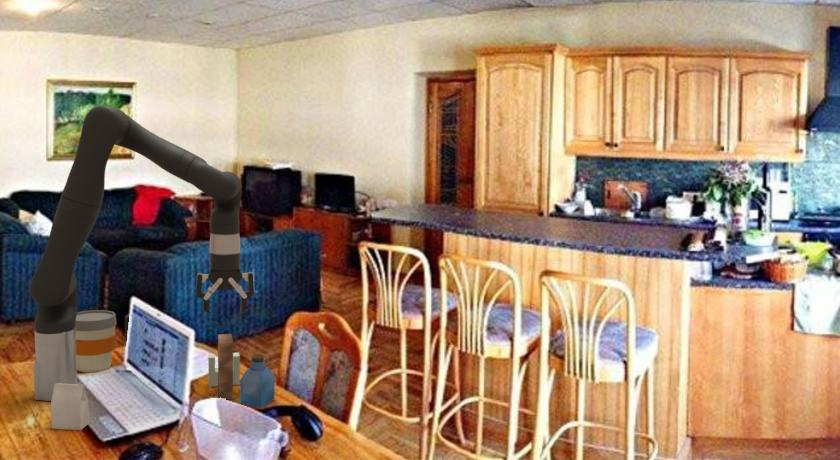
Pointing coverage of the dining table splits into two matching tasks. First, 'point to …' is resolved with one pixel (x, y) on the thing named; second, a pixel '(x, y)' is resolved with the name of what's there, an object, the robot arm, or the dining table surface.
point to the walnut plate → (225, 366)
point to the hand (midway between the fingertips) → (225, 312)
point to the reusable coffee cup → (94, 339)
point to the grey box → (69, 407)
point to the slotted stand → (214, 371)
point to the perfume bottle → (257, 383)
